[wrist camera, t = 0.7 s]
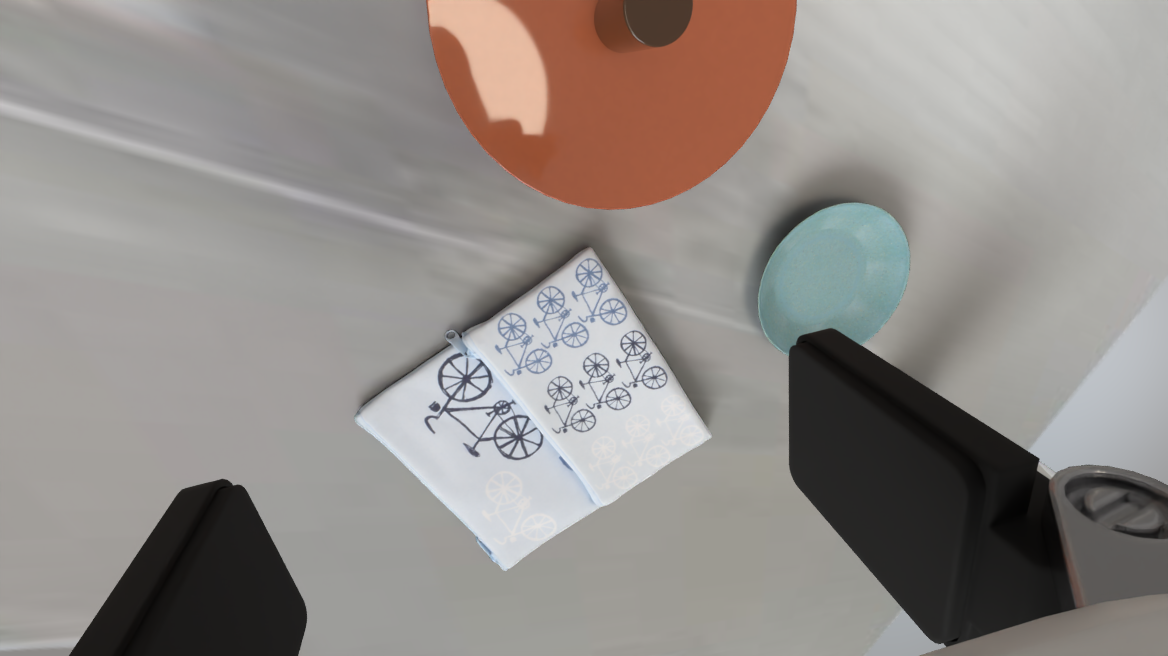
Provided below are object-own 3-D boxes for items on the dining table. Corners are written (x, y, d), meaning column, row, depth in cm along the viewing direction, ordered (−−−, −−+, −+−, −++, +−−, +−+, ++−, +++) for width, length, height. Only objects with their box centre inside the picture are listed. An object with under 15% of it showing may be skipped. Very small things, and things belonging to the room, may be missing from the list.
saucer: (913, 276, 44) (936, 285, 42) (794, 377, 45) (810, 391, 43) (844, 160, 39) (866, 164, 37) (712, 277, 40) (726, 288, 38)
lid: (343, -91, 22) (309, -146, 17) (713, -299, 22) (797, -420, 16) (542, 262, 29) (562, 302, 24) (821, 107, 29) (903, 112, 24)
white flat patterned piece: (708, 431, 45) (720, 446, 43) (498, 564, 46) (500, 585, 44) (590, 236, 37) (598, 245, 35) (336, 402, 38) (329, 419, 36)
